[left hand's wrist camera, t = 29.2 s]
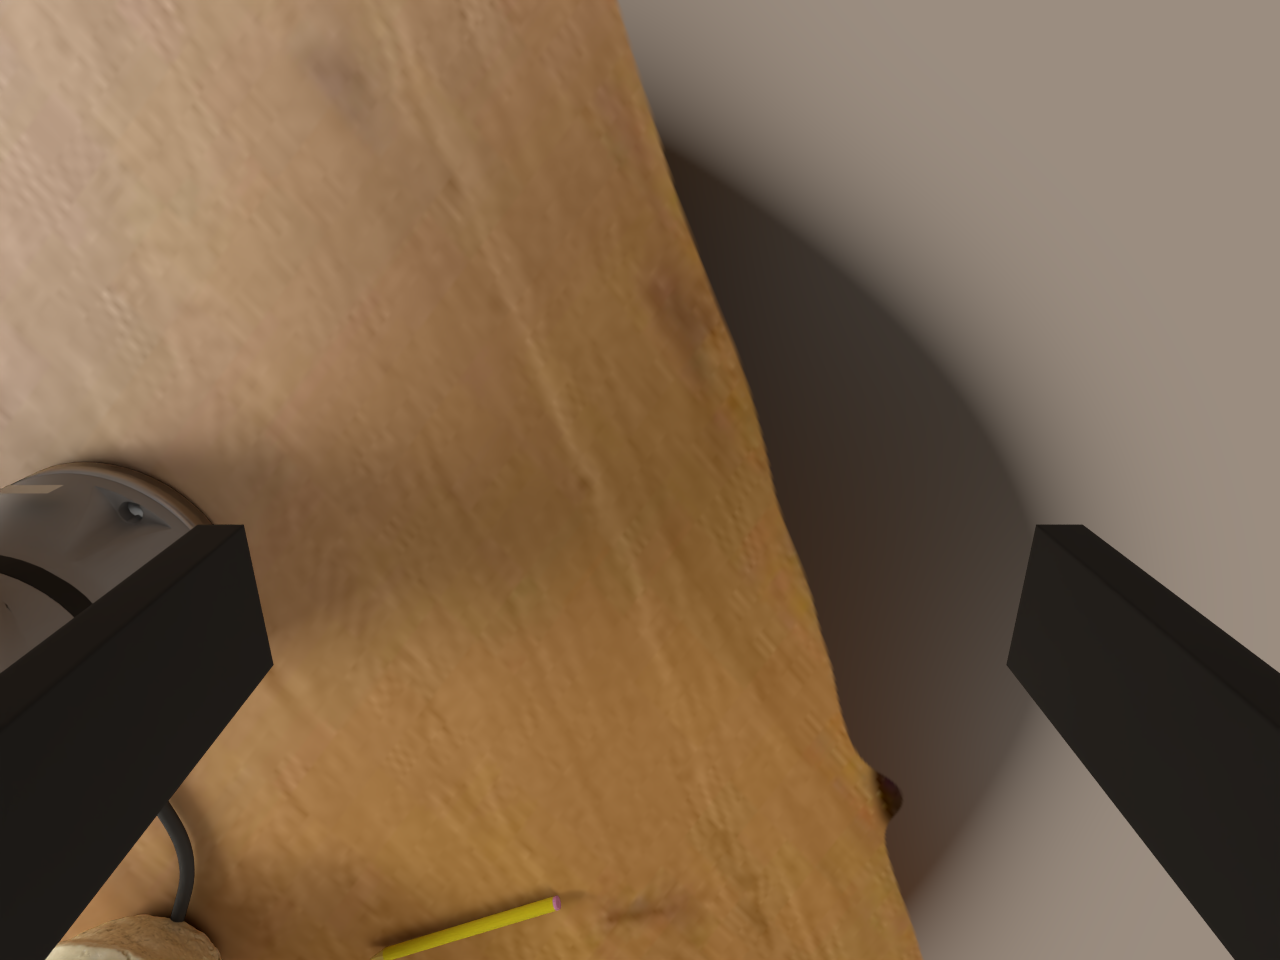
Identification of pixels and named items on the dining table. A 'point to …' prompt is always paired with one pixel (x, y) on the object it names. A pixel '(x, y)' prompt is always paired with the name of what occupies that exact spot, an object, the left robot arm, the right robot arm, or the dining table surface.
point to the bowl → (138, 941)
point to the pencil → (469, 929)
